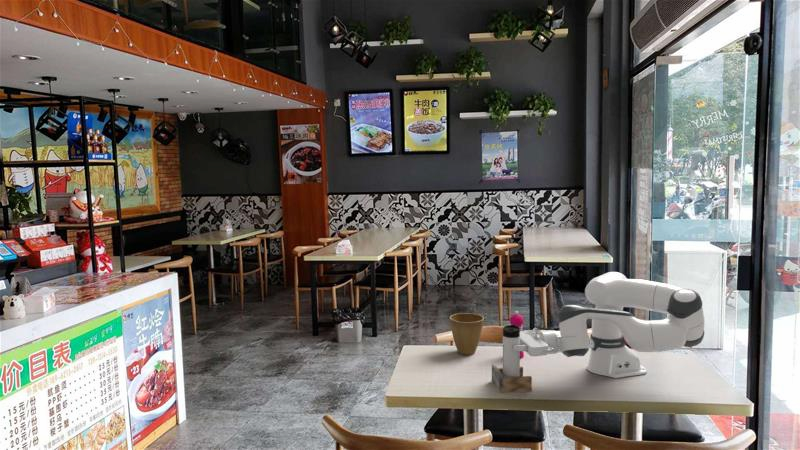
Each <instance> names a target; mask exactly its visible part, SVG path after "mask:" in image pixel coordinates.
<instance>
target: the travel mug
mask: <svg viewBox="0 0 800 450" xmlns="http://www.w3.org/2000/svg"><path fill="white" fill-rule="evenodd" d="M512 345H520V328H519V327H518V326H516V325H512V324H511V323H510V325H505V326H503V328H502V368H503V377H520V367H521V366H520V365H521V364H520V363H521V360H520V359H521V358H520V351H518V350H517V351H514V350H513V349H512Z"/></svg>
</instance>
